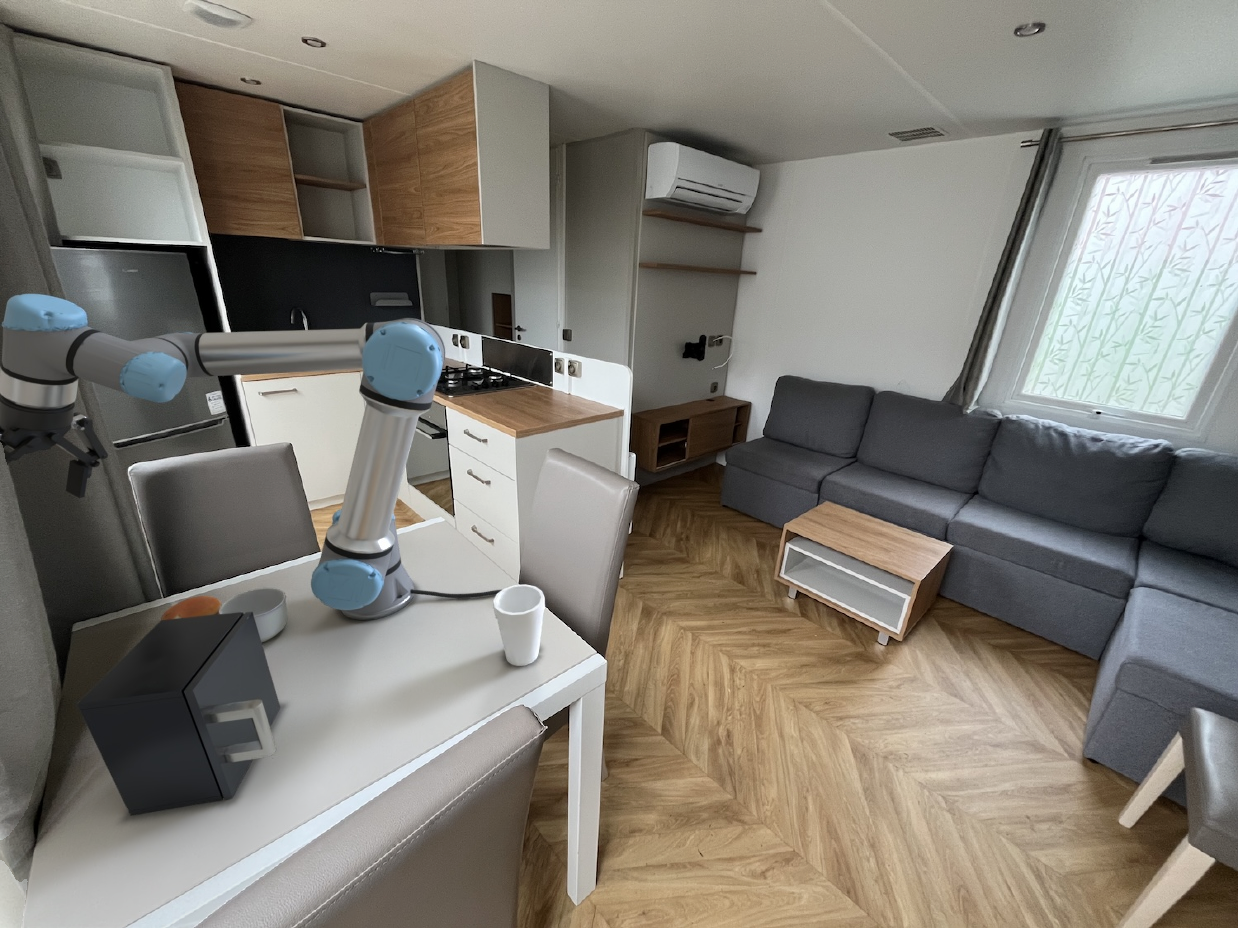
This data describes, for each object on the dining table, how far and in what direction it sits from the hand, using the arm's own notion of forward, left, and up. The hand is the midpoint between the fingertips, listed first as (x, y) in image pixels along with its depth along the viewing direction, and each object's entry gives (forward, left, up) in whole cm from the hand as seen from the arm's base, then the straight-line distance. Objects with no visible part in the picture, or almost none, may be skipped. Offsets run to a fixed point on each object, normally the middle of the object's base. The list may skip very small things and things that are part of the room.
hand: (26, 508), depth 81 cm
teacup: (-26, +2, -33) cm, 42 cm away
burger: (-13, -8, -33) cm, 36 cm away
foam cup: (-75, +25, -33) cm, 86 cm away
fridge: (-26, +30, -32) cm, 51 cm away
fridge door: (-35, +32, -32) cm, 57 cm away
